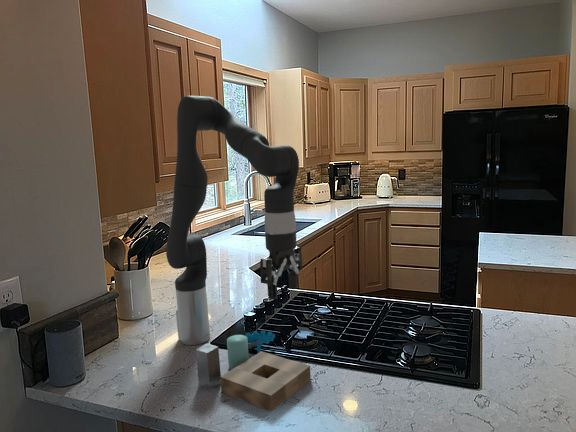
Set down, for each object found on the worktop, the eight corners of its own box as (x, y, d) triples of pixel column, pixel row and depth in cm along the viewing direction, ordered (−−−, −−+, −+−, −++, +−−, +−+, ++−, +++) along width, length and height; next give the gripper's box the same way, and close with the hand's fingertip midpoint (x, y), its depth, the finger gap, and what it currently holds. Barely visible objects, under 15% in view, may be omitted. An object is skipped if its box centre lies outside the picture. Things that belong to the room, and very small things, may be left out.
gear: (276, 338, 142) (271, 325, 133) (279, 357, 138) (273, 345, 130) (241, 344, 142) (233, 332, 134) (242, 363, 139) (234, 352, 130)
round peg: (224, 368, 128) (222, 340, 127) (238, 359, 133) (236, 333, 131) (239, 373, 125) (237, 345, 123) (253, 364, 129) (251, 337, 128)
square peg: (199, 385, 120) (195, 349, 118) (210, 378, 123) (207, 343, 121) (210, 390, 117) (206, 353, 115) (221, 383, 120) (218, 346, 119)
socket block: (221, 391, 116) (220, 376, 116) (262, 364, 129) (261, 351, 128) (271, 411, 107) (270, 395, 106) (310, 380, 119) (310, 365, 119)
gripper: (284, 222, 121) (287, 282, 124) (249, 233, 109) (253, 299, 112) (309, 225, 116) (311, 287, 119) (275, 236, 105) (278, 305, 108)
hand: (283, 293), depth 116 cm, fingers open, 8 cm apart
